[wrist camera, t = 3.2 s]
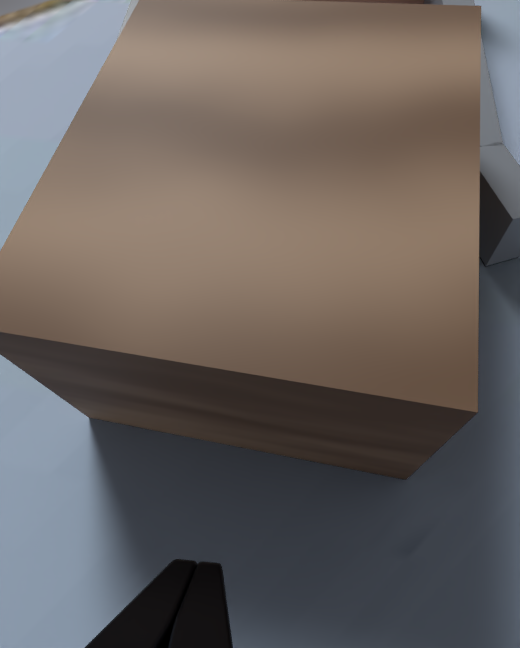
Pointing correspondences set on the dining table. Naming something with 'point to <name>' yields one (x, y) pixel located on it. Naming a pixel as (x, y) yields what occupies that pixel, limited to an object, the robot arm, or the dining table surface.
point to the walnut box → (265, 232)
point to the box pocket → (495, 164)
